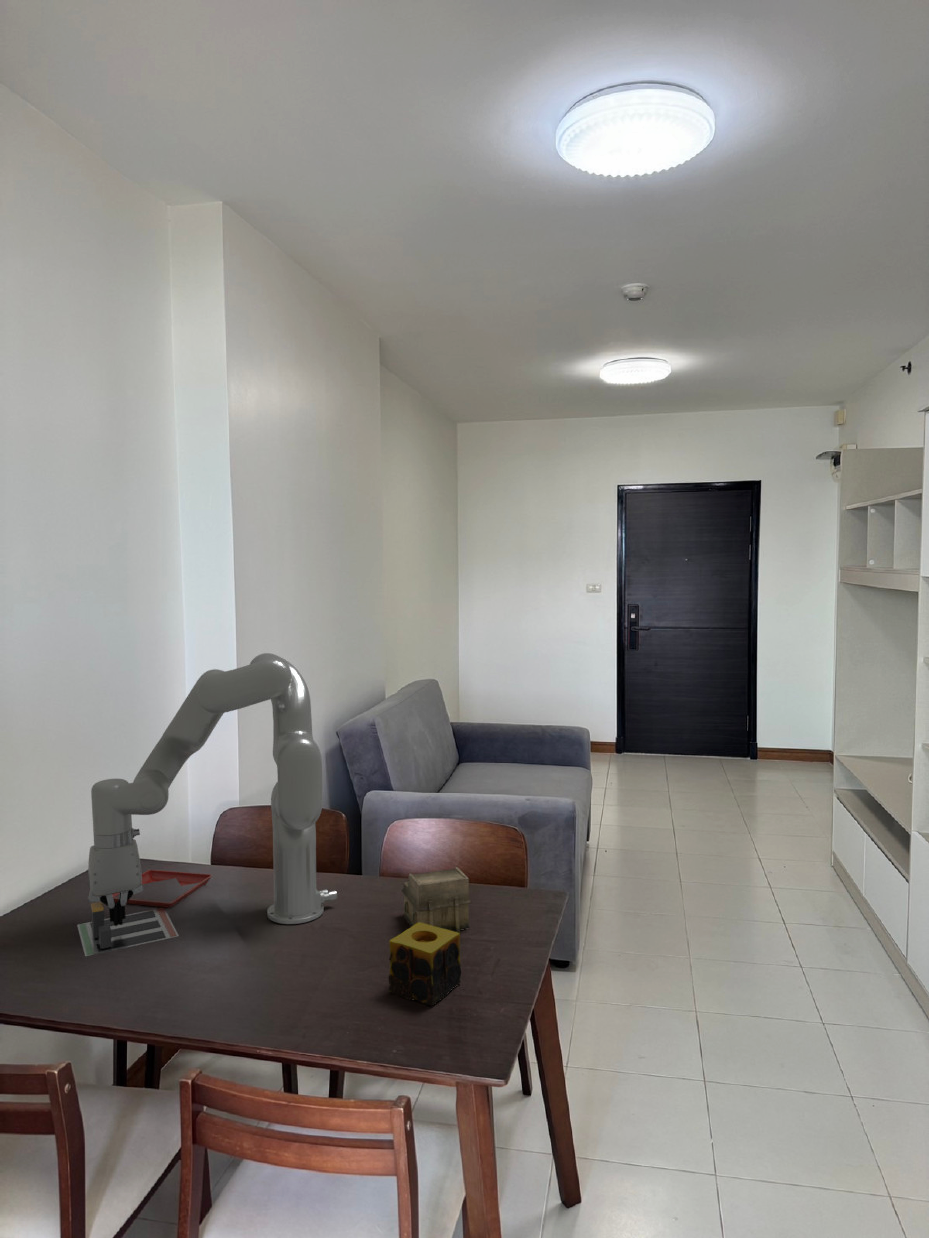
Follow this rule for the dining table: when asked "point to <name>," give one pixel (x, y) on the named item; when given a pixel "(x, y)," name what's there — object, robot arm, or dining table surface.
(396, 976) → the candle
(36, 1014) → the dining table surface
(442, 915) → the miniature house
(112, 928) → the breaker panel
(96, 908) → the block
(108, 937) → the breaker
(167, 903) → the red square tray
